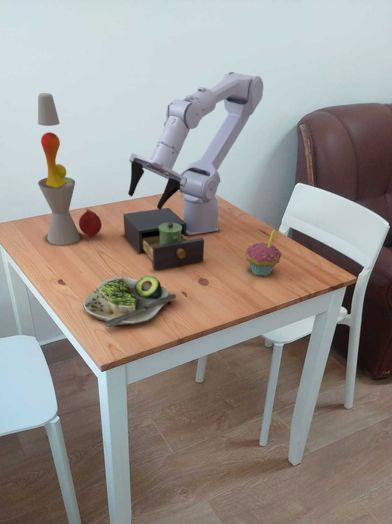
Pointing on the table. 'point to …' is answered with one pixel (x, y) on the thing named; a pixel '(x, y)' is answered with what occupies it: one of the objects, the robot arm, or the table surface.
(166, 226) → the pot
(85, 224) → the onion
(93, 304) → the avocado toast plate
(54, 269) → the table surface
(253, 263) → the cupcake
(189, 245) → the drawer
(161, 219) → the cabinet
